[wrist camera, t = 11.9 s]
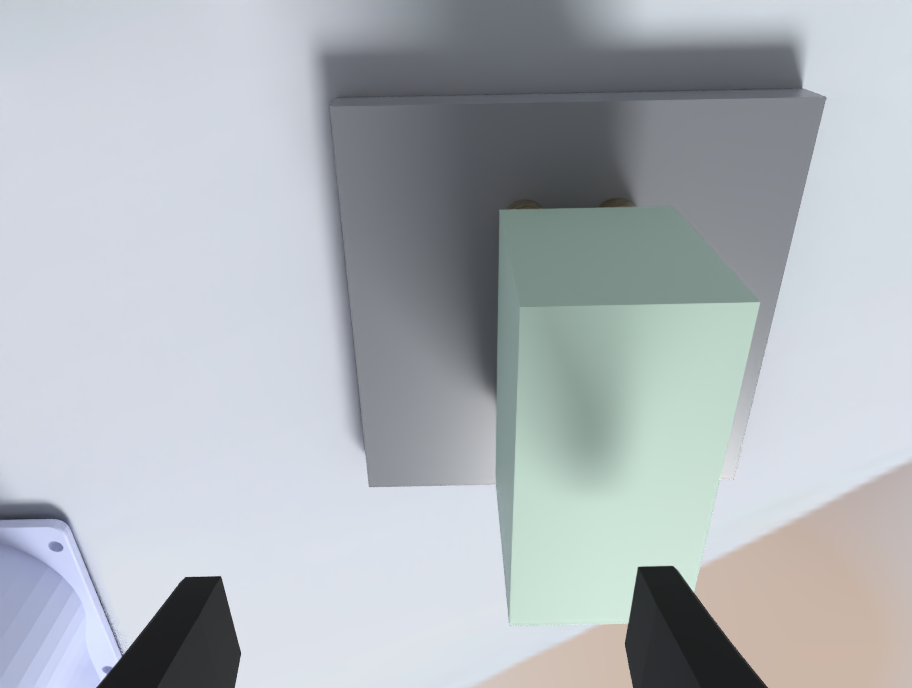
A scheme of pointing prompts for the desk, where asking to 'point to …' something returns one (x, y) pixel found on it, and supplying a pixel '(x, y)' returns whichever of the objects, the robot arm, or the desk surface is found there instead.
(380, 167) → the plate
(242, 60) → the desk surface
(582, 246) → the board block
